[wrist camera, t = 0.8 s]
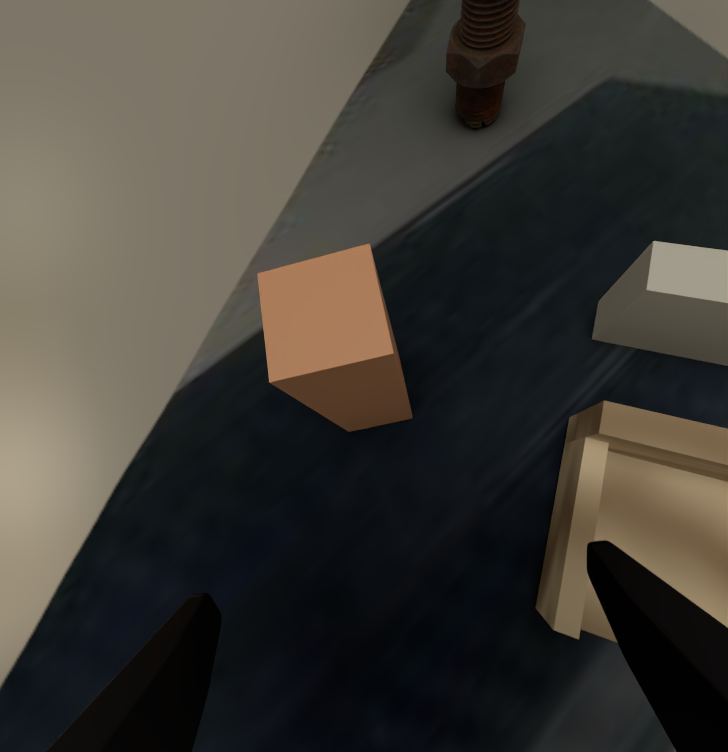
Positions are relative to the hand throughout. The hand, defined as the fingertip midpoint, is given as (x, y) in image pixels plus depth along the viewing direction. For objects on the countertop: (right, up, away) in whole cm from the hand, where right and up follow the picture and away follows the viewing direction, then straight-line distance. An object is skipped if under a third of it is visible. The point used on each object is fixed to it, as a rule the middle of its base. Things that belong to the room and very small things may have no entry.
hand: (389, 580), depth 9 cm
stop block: (+17, +7, +13) cm, 22 cm away
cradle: (+14, -3, +10) cm, 17 cm away
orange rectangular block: (0, +4, +15) cm, 15 cm away
